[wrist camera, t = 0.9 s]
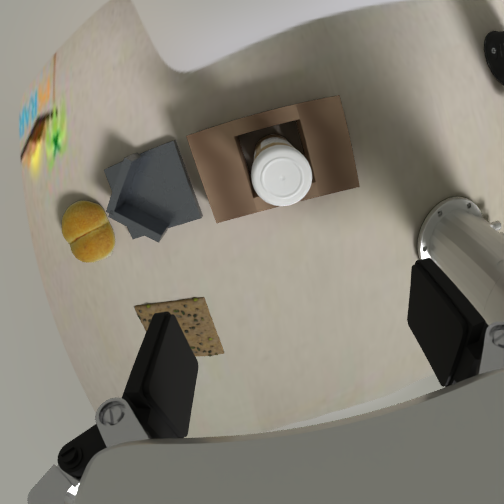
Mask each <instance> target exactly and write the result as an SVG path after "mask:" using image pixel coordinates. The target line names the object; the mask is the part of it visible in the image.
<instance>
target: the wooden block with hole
mask: <svg viewBox="0 0 504 504" xmlns="http://www.w3.org/2000/svg"><path fill="white" fill-rule="evenodd" d="M294 120H296V124H297V128H298V131H299V135H300V139H301V142H302V146H303V150H304V154H305V158H306V159H307V161H308V163H309V165H310V167H311V171H312V183H311V187H310V189H309V191H308V192H307V194H306V195H305V196H304V197H303V198H302V199H301V200H300V201H303V200H307V199H311V198H315V197H319V196H323V195H327V194H331V193H335V192H339V191H344V190H348V189H352V188H356V187H360V186H359V181H358V175H357V170H356V165H355V160H354V155H353V150H352V145H351V141H350V136H349V132H348V128H347V123H346V119H345V115H344V111H343V107H342V103H341V100H340V96H339V95H338V96H332V97H327V98H322V99H317V100H312V101H307V102H302V103H298V104H294V105H289V106H285V107H281V108H277V109H273V110H269V111H265V112H261V113H258V114H254V115H250V116H247V117H243V118H240V119H237V120H233V121H230V122H227V123H223V124H220V125H217V126H214V127H211V128H208V129H205V130H202V131H199V132H196V133H193V134H191V135H188V136H186V137H187V140H188V143H189V146H190V149H191V152H192V155H193V158H194V160H195V163H196V166H197V169H198V172H199V175H200V178H201V181H202V183H203V186H204V189H205V192H206V195H207V198H208V200H209V203H210V206H211V209H212V212H213V215H214V217H215V220H216V223H219V222H223V221H227V220H230V219H234V218H238V217H241V216H245V215H249V214H252V213H256V212H260V211H264V210H267V209H271V208H275V207H279V206H276V205H272V204H269V203H267V202H265V201H264V200H263V199H261V198H260V197H259V196H258V194H257V193H256V191H255V190H254V187H253V184H252V180H251V176H250V173H249V170H248V167H247V163H246V160H245V157H244V154H243V150H242V147H241V144H240V141H239V138H238V135H241V134H245V133H248V132H252V131H255V130H259V129H263V128H266V127H270V126H274V125H278V124H282V123H286V122H290V121H294ZM298 202H299V201H298Z"/></svg>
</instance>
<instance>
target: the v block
mask: <svg viewBox="0 0 504 504" xmlns="http://www.w3.org/2000/svg"><path fill="white" fill-rule="evenodd" d="M104 172H105V174H106V177H107V179H108V182H109V185H110V187H111V190H112V194H111V197H110V201H109V204H108V207H107V210H106V212H108V213H109V216H108V217H110V218H112V219H114V220H115V221H117V222H119V223H121V224H123V225H125V226H127V228H128V230H129V232H130V234H131V236H132V239H135V238H138V237H141V236H144V235H145V236H147V237H149V238H151V239H153V240H155V241H157V242H159V241H160V240H161V239H162V237H163V236H164V234H165V233H166V231H167V229H168V228H170V227H173V226H177V225H180V224H183V223H187V222H190V221H193V220H197V219H200V218H202V216H203V215H202V212H201V210H200V207H199V204H198V201H197V199H196V196H195V193H194V190H193V188H192V185H191V182H190V179H189V176H188V174H187V171H186V168H185V165H184V162H183V159H182V157H181V154H180V151H179V148H178V145H177V142H176V140H174V141H171V142H169V143H166V144H163V145H161V146H158V147H156V148H153V149H151V150H148V151H146V152H143V153H141V154H138V153H135V154H132V155H130V156H128V157H125V158H124V161H122V162H120V163H118V164H115V165H113V166H111V167H109V168H107V169H105V170H104Z"/></svg>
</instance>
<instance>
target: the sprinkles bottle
mask: <svg viewBox="0 0 504 504" xmlns="http://www.w3.org/2000/svg"><path fill="white" fill-rule="evenodd" d="M251 178H252V184H253V187H254V190H255V191H256V193H257V194H258V196H259V197H260V198H261V199H263V200H264V201H265V202H267V203H269V204H272V205H276V206H288V205H292V204H294V203H296V202H298V201H300V200H301V199H302V198H303V197H304V196H305V195H306V194H307V192H308V191H309V189H310V187H311V183H312V171H311V167H310V165H309V163H308V161H307V159H306V158H305V157H304V156H303V155H302V154H301V153H300V152H299V151H298V150H297V149H295V148H294V147H293V146H292V145H291V144H290V142H289V141H288V140H287V139H286V138H284V137H282V136H279V135H267V136H265V137H263V138H262V139H260V140H259V141H258V143H257V144H256V146H255V149H254V163H253V166H252V171H251Z"/></svg>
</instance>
